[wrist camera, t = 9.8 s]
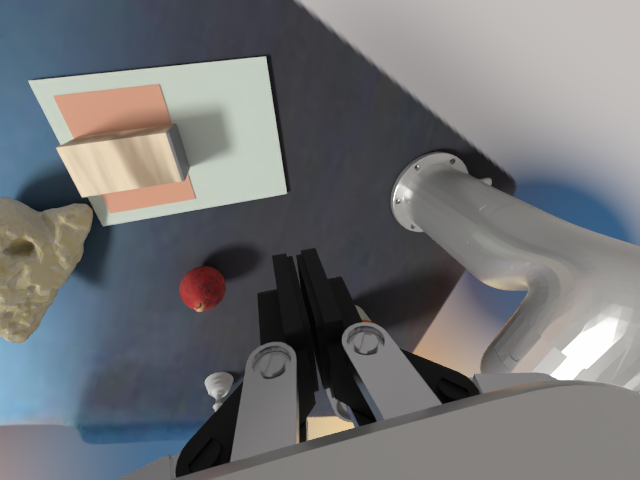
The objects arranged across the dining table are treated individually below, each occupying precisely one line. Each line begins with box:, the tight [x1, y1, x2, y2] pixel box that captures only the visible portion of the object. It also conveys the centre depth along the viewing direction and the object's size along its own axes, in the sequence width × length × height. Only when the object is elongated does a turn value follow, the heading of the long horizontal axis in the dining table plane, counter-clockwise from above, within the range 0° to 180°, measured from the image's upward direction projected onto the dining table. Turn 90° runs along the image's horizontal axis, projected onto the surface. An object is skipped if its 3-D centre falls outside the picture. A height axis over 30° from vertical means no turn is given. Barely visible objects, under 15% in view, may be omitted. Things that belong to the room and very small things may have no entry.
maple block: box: [56, 124, 190, 197], centre depth 33 cm, size 5×5×10 cm
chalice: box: [205, 372, 234, 412], centre depth 49 cm, size 7×7×18 cm
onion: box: [179, 266, 226, 312], centre depth 42 cm, size 6×6×8 cm
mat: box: [28, 56, 287, 226], centre depth 36 cm, size 23×16×1 cm
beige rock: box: [0, 197, 93, 343], centre depth 35 cm, size 15×7×15 cm
